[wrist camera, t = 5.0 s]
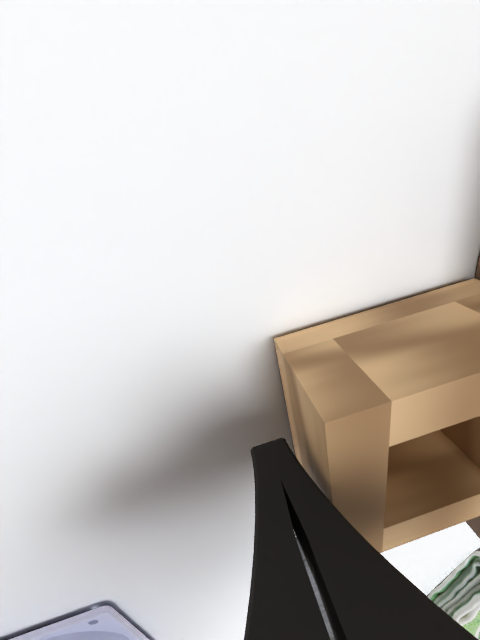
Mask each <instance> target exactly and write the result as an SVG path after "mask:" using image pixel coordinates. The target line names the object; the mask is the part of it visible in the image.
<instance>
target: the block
mask: <svg viewBox="0 0 480 640" xmlns="http://www.w3.org/2000/svg"><path fill="white" fill-rule="evenodd" d="M274 342H275V348H276V353H277V358H278V364H279V369H280V374H281V380H282V385H283V390H284V396H285V401H286V406H287V412H288V417H289V422H290V428H291V433H292V438H293V444H294V449H295V455H296V458H297V460H298V461H299V462H300V464H301V465H302V467H303V468H304V469H305V471H306V472H307V473H308V475H309V476H310V477H311V479H312V480H313V481H314V482H315V483H316V485H317V486H318V487H319V488H320V490H321V491H322V492H323V493H324V494H325V496H326V497H327V498H328V499H329V500H330V502H331V503H332V504H333V505H334V506H335V507H336V508H337V509H338V511H339V512H340V513H341V514H342V515H343V516H344V517H345V518H346V519H347V520H348V522H349V523H350V524H351V525H352V526H353V527H354V528H355V529H356V530H357V531H358V532H359V533H360V534H361V535H362V536H363V537H364V538H365V539H366V540H367V541H368V542H369V543H370V544H371V545H372V546H373V547H374V548H375V549H376V550H377V551H378V552H379V553H381V552H384V551H386V550H389V549H392V548H394V547H397V546H400V545H402V544H405V543H408V542H411V541H413V540H416V539H419V538H421V537H424V536H427V535H429V534H432V533H435V532H438V531H440V530H443V529H446V528H448V527H451V526H454V525H456V524H459V523H462V522H464V521H467V520H470V519H473V518H475V517H478V516H480V280H477V279H475V278H473V279H470V280H467V281H463V282H460V283H457V284H453V285H450V286H447V287H443V288H440V289H437V290H433V291H430V292H427V293H423V294H420V295H417V296H413V297H410V298H407V299H403V300H400V301H397V302H394V303H390V304H387V305H384V306H380V307H377V308H374V309H370V310H367V311H364V312H360V313H357V314H354V315H350V316H347V317H344V318H340V319H337V320H334V321H330V322H327V323H324V324H320V325H317V326H314V327H310V328H307V329H304V330H300V331H297V332H294V333H290V334H287V335H284V336H281V337H277V338H274Z"/></svg>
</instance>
